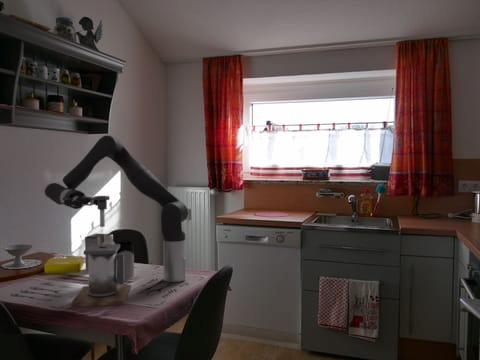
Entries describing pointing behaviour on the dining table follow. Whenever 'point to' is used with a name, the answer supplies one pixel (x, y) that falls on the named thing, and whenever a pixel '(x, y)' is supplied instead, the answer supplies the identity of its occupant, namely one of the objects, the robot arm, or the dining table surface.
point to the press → (104, 269)
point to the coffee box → (92, 240)
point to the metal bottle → (108, 239)
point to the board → (116, 299)
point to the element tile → (64, 265)
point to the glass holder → (126, 260)
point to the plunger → (102, 208)
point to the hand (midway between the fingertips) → (90, 203)
